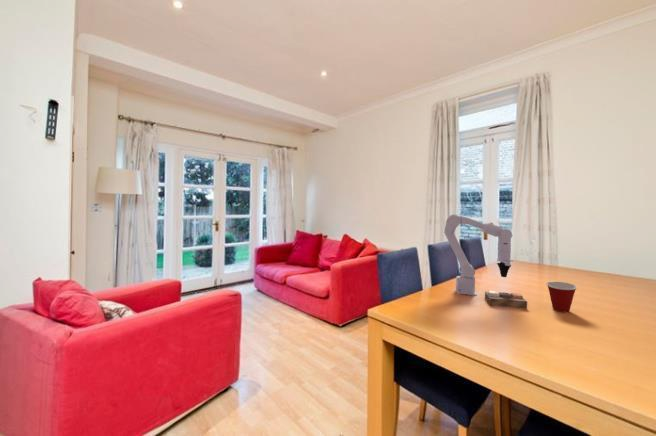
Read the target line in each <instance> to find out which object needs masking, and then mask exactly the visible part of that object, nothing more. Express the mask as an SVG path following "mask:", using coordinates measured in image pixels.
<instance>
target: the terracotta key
mask: <svg viewBox="0 0 656 436" xmlns="http://www.w3.org/2000/svg"><path fill="white" fill-rule="evenodd" d="M509 294H510V295H511V297H512V298H516V299H523V298H524V297H523V295H522V294H521V293H517V292H515V293H514V292H510V293H509Z"/></svg>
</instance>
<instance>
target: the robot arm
mask: <svg viewBox="0 0 656 436" xmlns="http://www.w3.org/2000/svg"><path fill="white" fill-rule="evenodd" d="M459 225H469V226H472V227H474V228H478V229H481V230H482V232H483V233H485V234H488V235H490V236H493V237H498V240H497V259H496V261H498V262H496V264H497V267H498V269H499V272H500V273H499V274H500V276H501V278H507V276H508V273H509V270H510V268H511V266H512V265H511V262H514V259H511V254H512V252H511V249H512V248H511V247H512V246H511V244H512V243H511V242H512V241H511V239H512V237H513V233H512V231H511V230H510V229H508V228H505V227H503V226H502V225H500V226H499V225H496V224H494V222H485V223H482V222H480V221H477V220H475V219H472V218H470V217H468V216H462V215H457V214H450V215H449V216H448V218H447V219H446V222H445V227H444V236H446V239H447V242H448V243H449V245H450V247H451V249H452V251H453V253H454V255H455V257H456V259H457V261H458V263H459V265H460V271H461V274H460V275H456V277H455V291H456V293H457V294H458V295H459V294H461V295H468V296H469V295H471V296H477V293H476V275H475V274H476V270H475V268H474V267H473V265H472V264H471V263H470V262H469V261H468V259H467V256H466V254H465V253H464V250H463V248H462V246H461V245H460V243H459V241H458V239H457V236H456V235H455V232H456V229H457V227H459Z"/></svg>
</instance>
